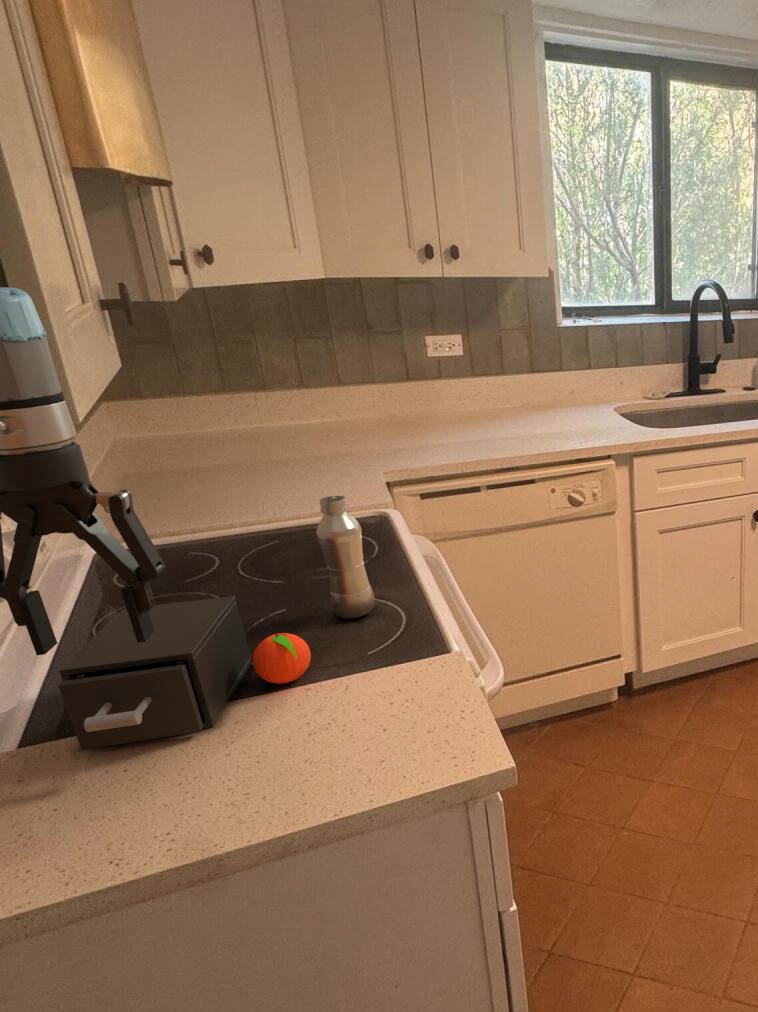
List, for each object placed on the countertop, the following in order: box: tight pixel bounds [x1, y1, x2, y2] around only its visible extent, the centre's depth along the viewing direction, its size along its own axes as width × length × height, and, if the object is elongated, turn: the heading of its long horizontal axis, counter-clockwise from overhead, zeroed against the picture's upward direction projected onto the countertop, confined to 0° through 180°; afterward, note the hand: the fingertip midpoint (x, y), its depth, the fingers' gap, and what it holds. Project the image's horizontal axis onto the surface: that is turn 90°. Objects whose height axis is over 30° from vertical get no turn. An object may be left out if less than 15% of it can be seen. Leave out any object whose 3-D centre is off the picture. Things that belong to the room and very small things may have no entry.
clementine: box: [252, 632, 312, 685], centre depth 108 cm, size 8×7×7 cm
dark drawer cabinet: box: [58, 595, 253, 730], centre depth 103 cm, size 18×14×11 cm
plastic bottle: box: [315, 495, 376, 619], centre depth 126 cm, size 6×7×20 cm
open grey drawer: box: [57, 659, 204, 751], centre depth 98 cm, size 22×12×9 cm, turn 17°
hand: (97, 642), depth 88 cm, fingers open, 9 cm apart
